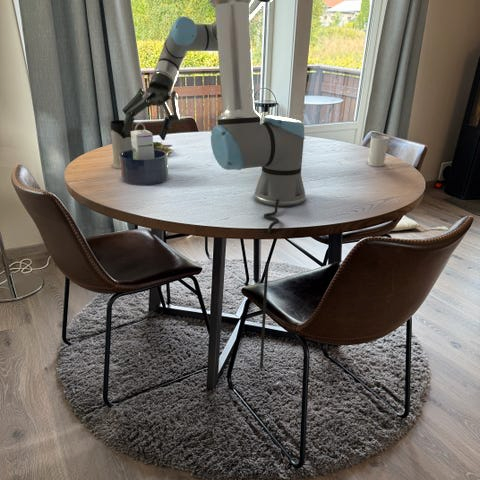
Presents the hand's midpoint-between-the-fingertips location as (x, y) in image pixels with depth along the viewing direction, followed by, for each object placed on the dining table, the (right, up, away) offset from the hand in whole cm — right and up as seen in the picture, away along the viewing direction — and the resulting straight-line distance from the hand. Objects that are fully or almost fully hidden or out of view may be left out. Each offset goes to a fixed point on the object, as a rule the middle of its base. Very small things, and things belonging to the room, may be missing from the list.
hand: (143, 135), depth 159 cm
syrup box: (-1, -12, +7) cm, 13 cm away
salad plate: (-5, +6, +37) cm, 37 cm away
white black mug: (-8, -3, +22) cm, 24 cm away
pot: (-1, -12, +7) cm, 14 cm away
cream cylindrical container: (+83, 0, +30) cm, 88 cm away
